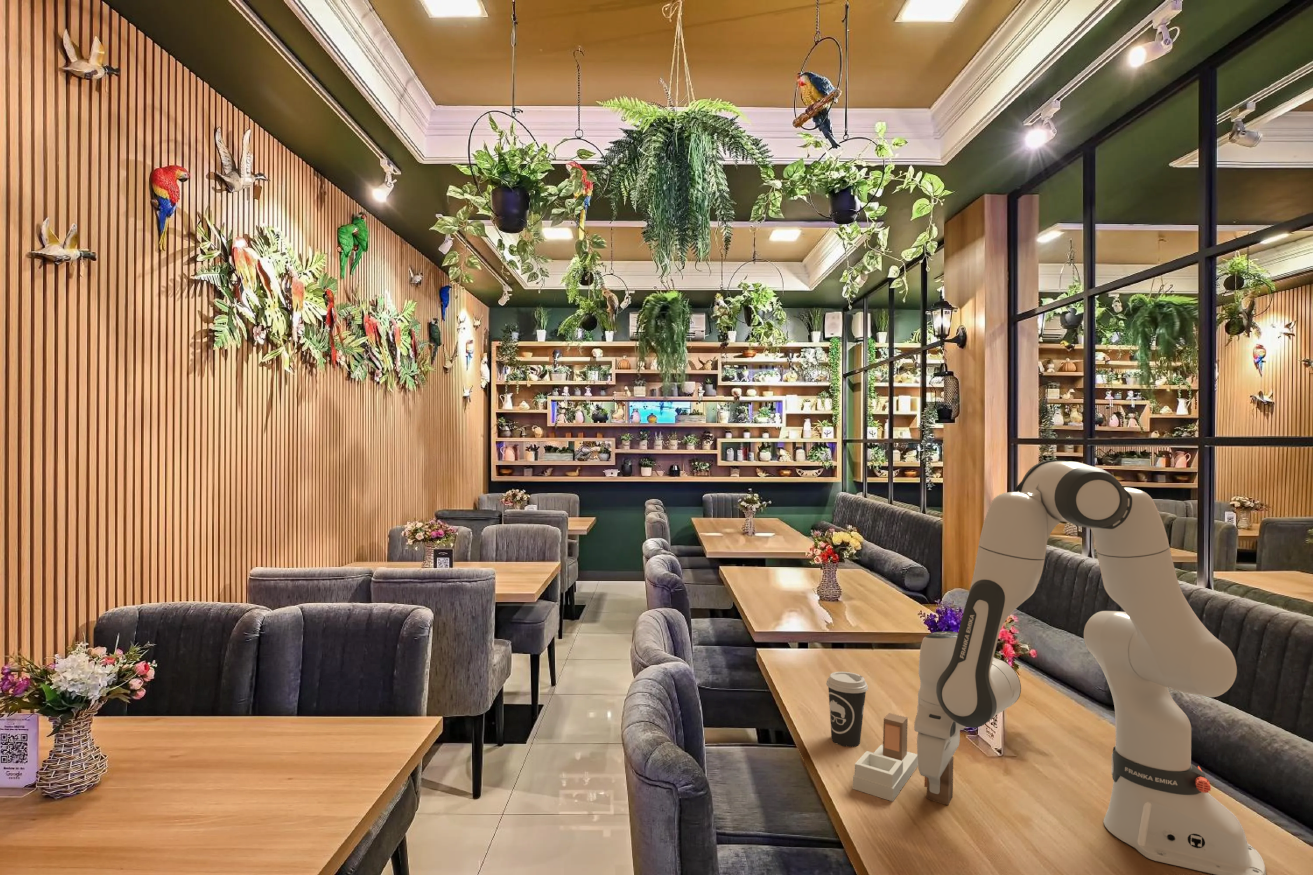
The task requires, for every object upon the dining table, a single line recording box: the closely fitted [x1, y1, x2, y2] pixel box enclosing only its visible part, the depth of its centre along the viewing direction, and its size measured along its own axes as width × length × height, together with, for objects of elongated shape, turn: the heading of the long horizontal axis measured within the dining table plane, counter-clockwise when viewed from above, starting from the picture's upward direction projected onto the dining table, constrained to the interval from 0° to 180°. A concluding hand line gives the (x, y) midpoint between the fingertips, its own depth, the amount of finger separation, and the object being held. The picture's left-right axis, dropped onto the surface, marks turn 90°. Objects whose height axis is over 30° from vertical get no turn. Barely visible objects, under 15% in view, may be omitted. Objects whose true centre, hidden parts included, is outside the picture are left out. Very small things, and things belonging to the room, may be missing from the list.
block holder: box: [852, 712, 918, 802], centre depth 141 cm, size 8×19×10 cm, turn 145°
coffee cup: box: [825, 671, 869, 748], centre depth 158 cm, size 10×10×15 cm
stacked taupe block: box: [923, 755, 954, 806], centre depth 133 cm, size 4×5×8 cm
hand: (939, 783), depth 133 cm, fingers open, 7 cm apart
